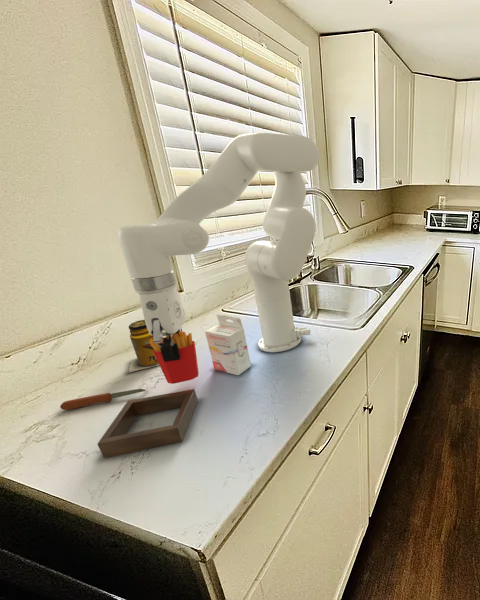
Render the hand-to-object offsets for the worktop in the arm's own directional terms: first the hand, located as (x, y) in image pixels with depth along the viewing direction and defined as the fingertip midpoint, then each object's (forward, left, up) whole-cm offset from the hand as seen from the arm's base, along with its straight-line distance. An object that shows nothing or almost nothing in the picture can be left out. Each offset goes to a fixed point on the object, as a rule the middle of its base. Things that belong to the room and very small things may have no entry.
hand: (175, 354), depth 77 cm
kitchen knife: (+16, +1, -9) cm, 18 cm away
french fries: (0, 0, -7) cm, 7 cm away
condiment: (+13, -16, -9) cm, 23 cm away
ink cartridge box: (-10, -5, -9) cm, 15 cm away
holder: (+2, +14, -9) cm, 17 cm away
